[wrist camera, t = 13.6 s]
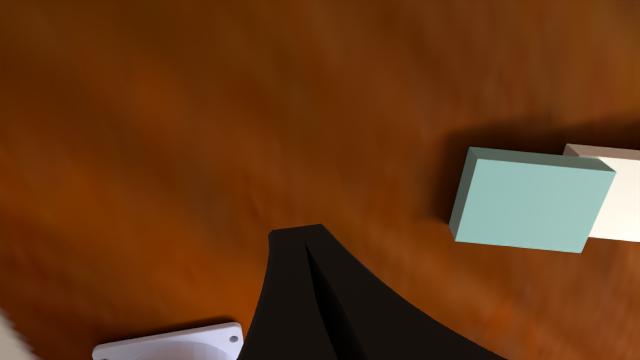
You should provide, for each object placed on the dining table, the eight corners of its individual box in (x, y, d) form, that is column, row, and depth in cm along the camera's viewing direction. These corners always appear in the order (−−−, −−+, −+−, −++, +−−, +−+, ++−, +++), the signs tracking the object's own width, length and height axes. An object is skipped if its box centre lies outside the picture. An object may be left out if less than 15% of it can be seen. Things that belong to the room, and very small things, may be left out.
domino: (539, 218, 27) (654, 229, 26) (549, 232, 25) (671, 244, 25) (566, 143, 24) (692, 155, 24) (579, 154, 23) (713, 167, 23)
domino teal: (448, 225, 25) (567, 236, 25) (455, 241, 24) (581, 252, 24) (469, 146, 23) (599, 159, 23) (477, 158, 22) (616, 172, 22)
